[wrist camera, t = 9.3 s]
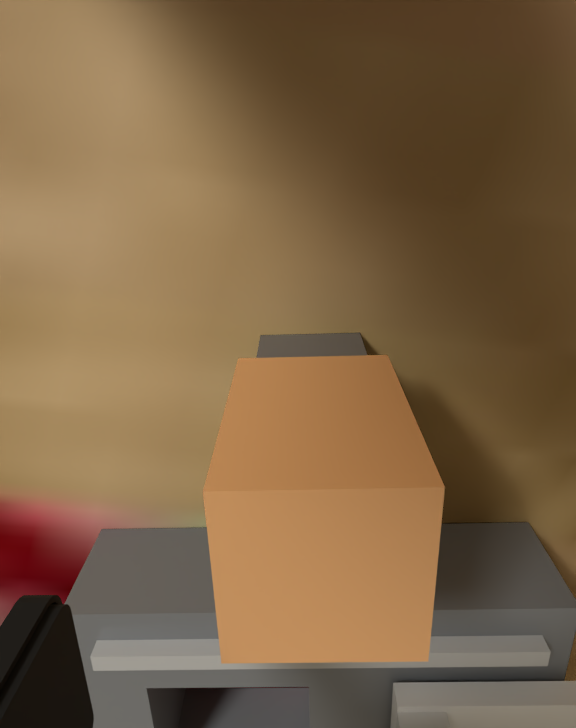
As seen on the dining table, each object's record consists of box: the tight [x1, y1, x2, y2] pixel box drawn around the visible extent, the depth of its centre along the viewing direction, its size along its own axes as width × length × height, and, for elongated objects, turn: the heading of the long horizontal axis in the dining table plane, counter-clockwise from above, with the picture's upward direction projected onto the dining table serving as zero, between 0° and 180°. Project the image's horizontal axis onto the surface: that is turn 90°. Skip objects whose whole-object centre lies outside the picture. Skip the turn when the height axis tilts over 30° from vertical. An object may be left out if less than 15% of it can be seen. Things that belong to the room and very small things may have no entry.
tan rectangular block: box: [203, 333, 445, 664], centre depth 14 cm, size 4×4×9 cm
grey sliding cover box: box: [65, 522, 576, 728], centre depth 20 cm, size 12×16×5 cm
